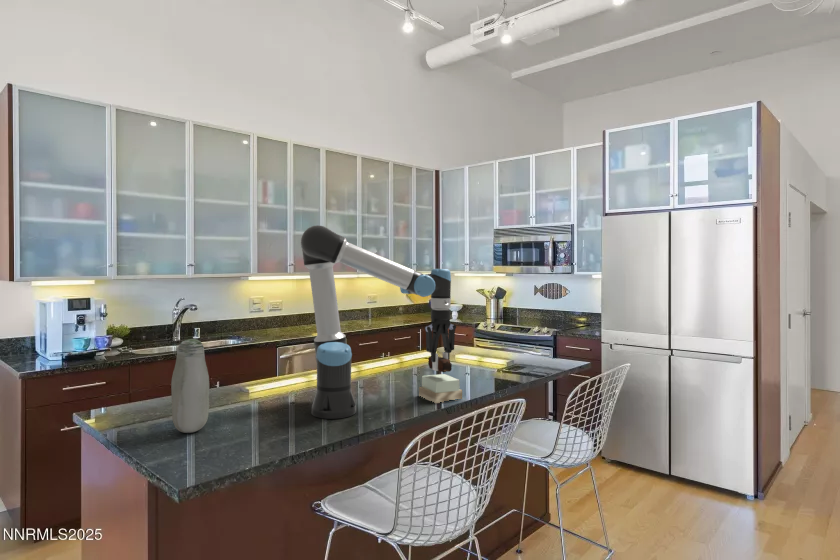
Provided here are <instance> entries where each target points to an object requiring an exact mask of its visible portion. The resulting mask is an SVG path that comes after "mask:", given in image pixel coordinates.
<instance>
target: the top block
mask: <svg viewBox="0 0 840 560" xmlns="http://www.w3.org/2000/svg"><path fill="white" fill-rule="evenodd" d="M460 383H461V382H460V379H458V378H455V377H453V376H451V375H449V374H445V373H439V374H430V375H422V376H421V387H425V388H427V389H429V390H431V391H433V392H435V393H441V392H451V391H460V388H461V387H460V385H461V384H460Z"/></svg>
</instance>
